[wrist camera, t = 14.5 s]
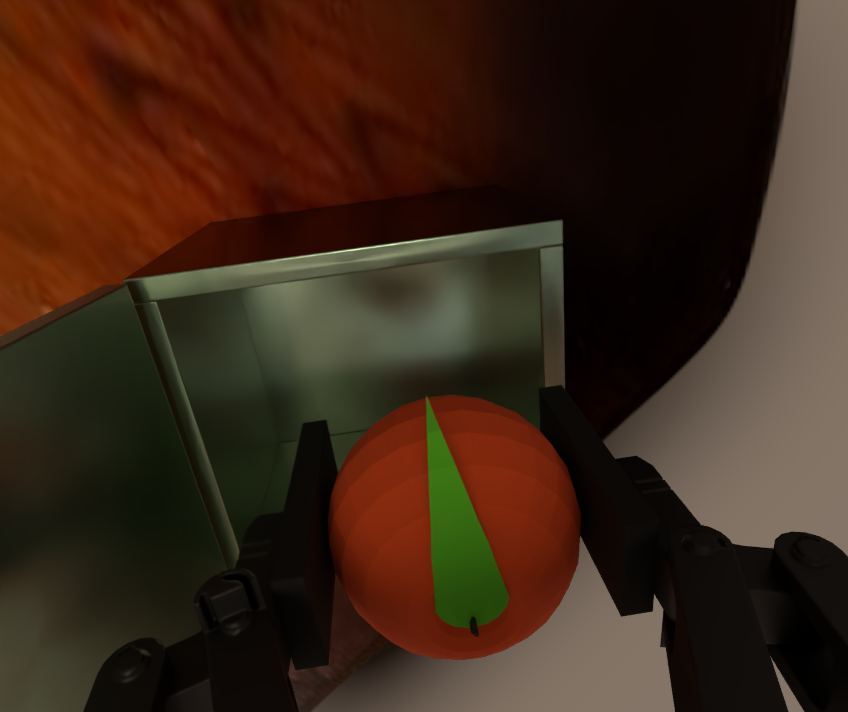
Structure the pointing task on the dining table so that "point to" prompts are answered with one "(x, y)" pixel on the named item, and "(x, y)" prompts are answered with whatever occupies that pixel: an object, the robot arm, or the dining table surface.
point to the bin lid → (90, 503)
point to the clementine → (454, 527)
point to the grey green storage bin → (345, 329)
